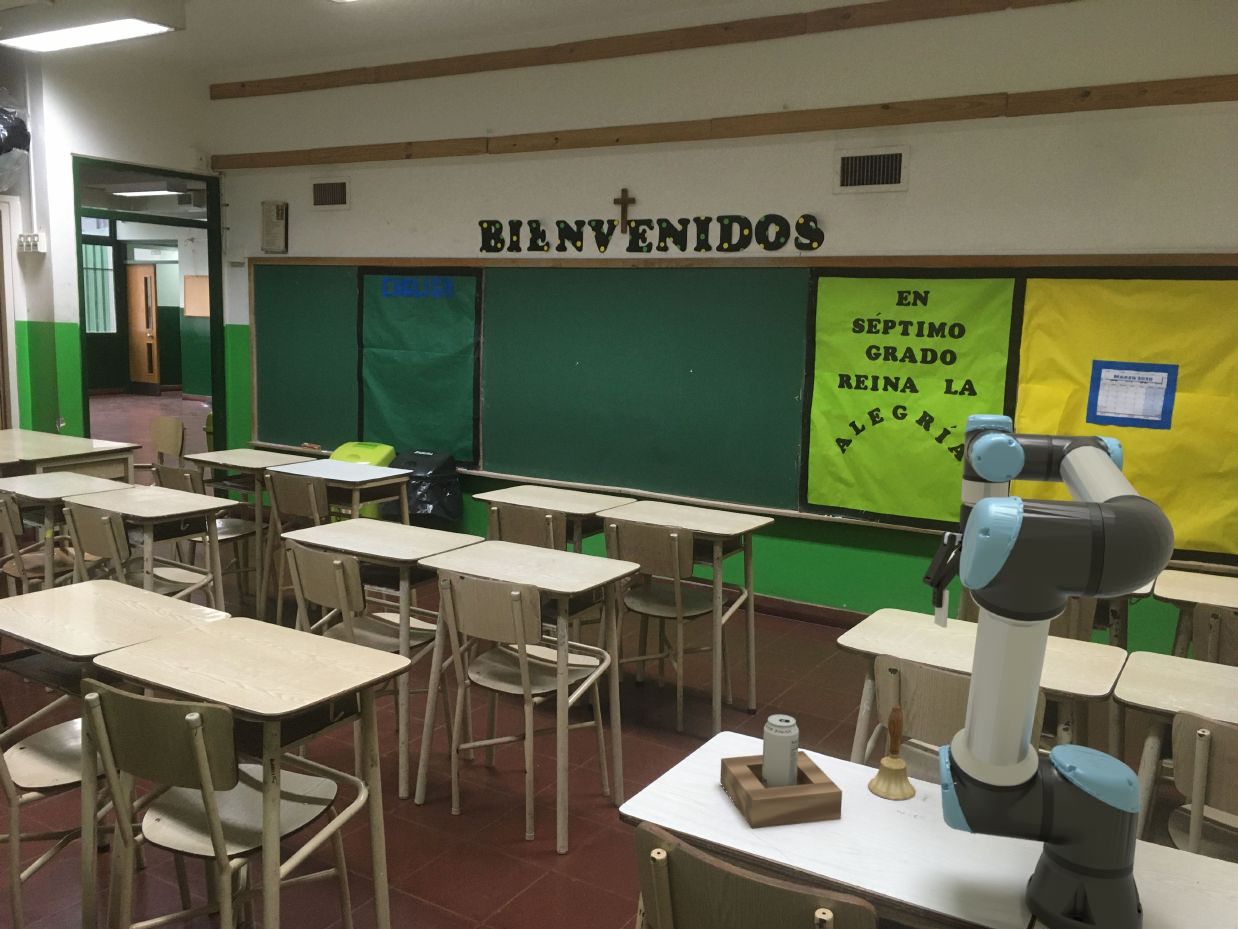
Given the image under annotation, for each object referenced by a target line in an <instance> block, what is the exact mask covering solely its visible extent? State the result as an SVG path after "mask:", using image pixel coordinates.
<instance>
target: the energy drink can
mask: <svg viewBox="0 0 1238 929" xmlns="http://www.w3.org/2000/svg"><path fill="white" fill-rule="evenodd" d="M799 736H800V730H799V727H798V726H797V720H796V718H794V717H792V716H790V715H787V714H772V715H770V716H768V718H767V722H766V723H765V725H764V727H763V742H762V743H763V744H762V745H763V746H762V755H763V765H762V785H763V786H764V788H775V787H785V786H795V785H797V763H798V751H799V740H800V739H799V738H800V737H799Z"/></svg>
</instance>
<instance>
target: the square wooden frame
mask: <svg viewBox="0 0 1238 929" xmlns="http://www.w3.org/2000/svg"><path fill="white" fill-rule="evenodd" d="M762 765H763V754H756V755H746V756H733V757H723V758H720V783H721V784H722V786H723V787H724V789H725V790H726V791H727V793H728V794H727V793H726V794H727V796H728V795H729V796H730V797H731V799H732V800H733V801H732V800H731V799H730V800H731V801H732V802H734V803H735V804H736V805H735V804H734V803H733V804H734V805H735V806H737V807H738V808H737V807H736V808H737V810H738V809H739V810H740V811H741V812H740V811H739V810H738V811H739V812H740V814H741V813H742V814H743V815H742V814H741V815H742V816H743V817H745V818H746V819H745V818H744V819H745V821H746V822H747V823H748V825H749V826H750V828H751V829H759V828H760V829H761V828H767V827H768V828H770V827H778V826H786V825H787V826H788V825H795V824H806V823H814V822H822V821H823V822H824V821H833V820H840V819H841V818H842V803H843V802H842V801H843V790H842V789H841V788H840V787H839V786H838V785H837V784H836V783H835V782H834V781H833V780H832V779H831V778H830V777H829V776H828V775H827V774H826V773H825V772H824V770H822V769H821V768H820V767H819V766H818V765H817V763H815V762H814V761H813V760H812V759H811V758H810V757H809V755H808V754H806V752H805V751H804V750H798V763H797V785H795V786H785V787H775V788H764V786H763V785H762ZM720 783H719V784H720ZM722 786H721V787H722ZM724 789H723V790H724ZM725 790H724V791H725ZM729 796H728V797H729ZM730 797H729V798H730Z"/></svg>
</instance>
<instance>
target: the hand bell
mask: <svg viewBox="0 0 1238 929" xmlns="http://www.w3.org/2000/svg"><path fill="white" fill-rule="evenodd" d="M891 707H892V708H891V711H890V713H889V716H888V721H887V727H888V728H887V730H888V735H889V750H888V751H889V755H888V756H885V757H883V758H881V760H880V764H879V768H878V772H877V773H876V775H875V776H874V777H873V778H871V779H870V780H869V782H868V784H867V787H868V790H869V791H870V792H871V793H873V794H874V795H875V796H877V797H880V798H882V799H887V800H891V801H908V800H910V799H912V798H914V797H915V796H916V794H917V793H916V792H917V791H916V788H915V787H914V785H913V784H912V783H911V782H910V780H909V777H908V770H907V763H906V762H905V760H904V759H902V758H900V738H901V735H902V733H903V728H904V727H903V726H904V720H903V719H904V718H903V714H902V711H901V710H902V709H901V706H900V705H897V704H894V705H892V706H891Z"/></svg>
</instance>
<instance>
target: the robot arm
mask: <svg viewBox="0 0 1238 929" xmlns="http://www.w3.org/2000/svg"><path fill="white" fill-rule="evenodd" d="M965 424H966V425H965V431H964V433H963V434H964V435H963V436H964V448H963V471H962V479H961V480H962V481H961V496H960V500H961V501H962V503H961V504H960V507H959V522H958V523H959V527H960V528H959V532H958V533H952V532H951V531H947V530H945V531H943V532H942V535H941V536H942V537H941V541H940V545H939V547H938V548H937V551H936V552H935V555H934V557H933V558H932V560H931V562H930V564H929V566H928V568H927V570H926V572H925V574H924V575H923V578H922V583H923V584H924V585H926V586H929V587H931V588H932V594H931V595H932V598H931V605H932V606H933V607H934V609H935V610H934V624H936V625H938V626H939V627H941V628H943V629H944V628H948V616H949V615H948V614H949V601H950V600H949V599H950V597H949V596H950V590H949V589H946V588H947V587H948V585H950V583H951V581H953V579H955V577H956V576H957V574H958V573H959V579H960V582H961V584H962V586H964V587H965V588H968V590H969V595H970V597H971V599H972V600H973V602H974V603H975V604H976V606H978V607H979V612H978V620H977V626H976V636H975V642H974V643H975V644H974V651H973V658H972V659H973V660H972V667H971V673H970V674H971V676H970V682H969V692H968V698H967V699H968V700H967V707H966V714H965V722H964V727H963V728H962V729H960V730H959V731H958V732H957V733H955V735H954V736H953V738H952V740H951V744H946V745H942V746H940V747H939V748H938V758H939V759H938V760H939V774H940V776H939V777H940V787H941V788H940V791H941V792H940V793H941V807H942V818H943V821H944V823H945V824H946V825H947V826H948V827H949V828H950V829H953V830H957V831H961V832H967V833H970V834H971V835H976V834H977V835H986V836H994V837H1000V838H1001V837H1002V838H1007V839H1008V838H1010V839H1017V840H1025V841H1033V842H1039V843H1042V844H1043V846H1042V852H1041V855H1040V856H1039V858H1038V860H1037V863H1036V865H1035V869H1034V871H1033V873H1032V874H1031V875H1030V876H1029V878H1028V880H1027V882H1026V890H1025V903H1026V905H1027V908H1028V910H1029V911H1030V912H1031V914H1032V915H1033V917H1035V919H1037V920H1039V922H1040V923H1042V924H1044V925H1045V926H1046V927H1048V928H1050V929H1143V924H1144V923H1143V922H1144V909H1143V906H1142V903H1141V899H1140V895H1139V890H1138V888H1137V887H1138V886H1137V882H1136V879H1135V875H1134V865H1135V854H1136V845H1137V833H1138V826H1139V825H1138V823H1139V816H1140V812H1141V809H1142V805H1141V783H1140V780H1139V777H1138V776H1137V774H1136V773H1135V771H1134V770H1133V769H1132V768H1131V767H1130V766H1128V765H1127V764H1126V763H1124V762H1123V761H1121V760H1119V759H1118V758H1116V757H1114V756H1112V755H1110V754H1107V753H1105V752H1102V751H1100V750H1098V749H1094V748H1091V747H1087V746H1081V745H1077V744H1063V745H1061V744H1059V745H1056V746H1053V748H1052V750H1051V751H1050V752H1049V754H1048V757H1047V756H1046V757H1044V756H1038V753H1037V751H1036V748H1035V747H1034V746H1033V744H1031V740H1032V733H1033V732H1032V731H1033V728H1034V727H1033V726H1034V720H1035V714H1036V708H1037V703H1038V696H1039V691H1040V684H1041V680H1042V673H1043V668H1044V661H1045V654H1046V651H1047V650H1046V649H1047V643H1048V637H1049V631H1050V626H1051V625H1050V624H1051V621H1053V620H1055V619H1057V618H1058V617H1060V616H1061V615H1062V614H1063V613H1064V611H1066V608H1067V606H1068V605H1067V604H1068V600H1069V597H1071V596H1073V597H1083V598H1085V597H1086V598H1099V599H1100V598H1102V599H1108V598H1116V597H1120V596H1125V595H1129V594H1131V593H1134V592H1136V591H1138V590H1141V589H1142V588H1143V587H1146V586H1148V585H1149V584H1151V583H1152V582H1153V581H1154V580H1156V578H1158V576H1160V575H1161V574H1162V573H1163V571H1164V570H1165V569H1166V567H1167V566H1168V564H1169V562H1170V560H1171V558H1172V555H1173V553H1174V548H1175V534H1174V533H1175V532H1174V528H1173V525H1172V523H1171V520H1170V519H1169V518H1168V516H1167V515H1166V513H1165V512H1164V511H1163V510H1162V508H1161V507H1160V506H1159V505H1158V504H1157V503H1155V502H1154V501H1153V500H1151V499H1150V498H1148V497H1145V496H1142V495H1139V493H1138V491H1137V490H1136V489H1135V487H1134V486H1133V484H1131V483H1130V481H1129V480H1128V479H1127V477H1126V476H1125V475H1124V474H1123V470H1124V451H1123V444H1122V443H1121V442H1120V441H1119V439H1117V438H1114V437H1107V436H1100V435H1095V434H1094V435H1062V434H1040V433H1038V434H1037V433H1020V432H1017V433H1016V432H1015V433H1014V431H1013V420H1012V418H1011V417H1010V416H1007V415H1002V414H987V413H986V414H972V415H969V416H968V417H967V418H966V423H965ZM1009 481H1025V482H1027V481H1028V482H1047V483H1048V482H1049V483H1063V484H1064V486H1065V487H1066V489H1067V491H1068V492H1069V494H1070V496H1071V498H1072V499H1073V500H1055V499H1051V500H1050V499H1037V498H1021V497H1020V496H1017V495H1016V496H1015V495H1011V496H1008V495H1009V483H1010V482H1009ZM958 544H959V545H958ZM957 545H958V547H957V548H956V549H955V547H956V546H957ZM953 553H954V554H953ZM952 555H953V556H952Z"/></svg>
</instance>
